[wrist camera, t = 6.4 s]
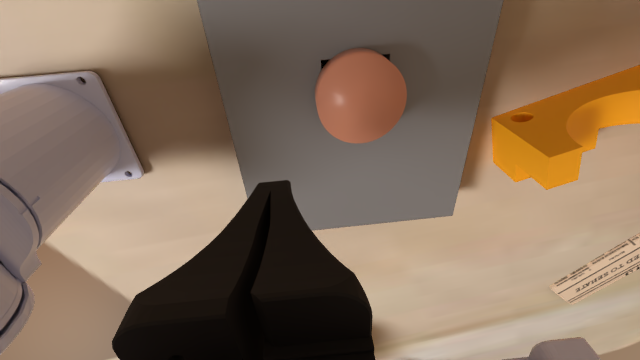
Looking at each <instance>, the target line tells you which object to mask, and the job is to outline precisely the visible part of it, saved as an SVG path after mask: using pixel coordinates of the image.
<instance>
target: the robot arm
mask: <svg viewBox="0 0 640 360" xmlns="http://www.w3.org/2000/svg"><path fill="white" fill-rule="evenodd" d="M80 77H82V78H84V79H85V81H86V83H83V82H82V81H81V80H80ZM127 171H129V172H131V173H132V174H129V173H128V172H127ZM143 175H144V170H143V168H142V166H141V164H140V162H139V160H138V157H137V155H136V153H135V151H134V149H133V147H132V145H131V143H130V140H129V138H128V136H127V134H126V132H125V130H124V128H123V126H122V123H121V121H120V119H119V117H118V115H117V113H116V111H115V108H114V106H113V104H112V102H111V100H110V98H109V96H108V94H107V91H106V89H105V87H104V85H103V83H102V81H101V79H100V77H99V76H98V75H97V74H96V73H95V72H93V71H80V72H69V73H58V74H46V75H35V76H24V77H12V78H1V79H0V355H1V354H2V353H3V352H4V351H5V350H6V348H7V347H8V346H9V345H10V344H11V343H12V342H13V340H14V339H15V338H16V337H17V335H18V334H19V333H20V332H21V330H22V329H23V327H24V326H25V324H26V322H27V321H28V319H29V317H30V315H31V313H32V311H33V307H34V302H35V299H34V293H33V291H32V289H31V287H30V286H29V285H28V284H27V283H25V282H26V281H27V280H28V279H29V278H30V276H31V275H32V274H33V273H34V272H35V271H36V270H37V269H38V267H39V266H40V265H41V264H42V263H41V261H40V260H39V259H38V257H37V253H36V250H37V249H38V248H39V247H40V246H41V245H42V244H43V243H44V241H45V240H46V239H47V238H48V237H49V236H50V235H51V234H52V233H53V232H54V231H55V230H56V229H57V228H58V227H59V226H60V225H61V223H62V222H63V221H64V220H65V219H66V218H67V217H68V216H69V215H70V214H71V213H72V212H73V211H74V210H75V209H76V208H77V207H78V205H79V204H80V203H81V202H82V201H83V200H84V199H85V198H86V197H87V196H88V195H89V194H90V193H91V192H92V191H93V190H94V189H95V187H96V186H97V185H98V184H99V183H100V182H109V181H119V180H129V179H139V178H141V177H142V176H143ZM371 332H372V310H371V306H370V304H369V301H368V298H367V296H366V294H365V292H364V290H363V288H362V286H361V284H360V282H359V281H358V279H357V277H356V275H355V274H354V273H353V272H352V271H350V270H349V269H348V268H347V267H345V266H344V265H343V264H342V263H341V262H340V261H338V260H337V259H336V258H335V257H334V256H333V255H332V254H331V253H330V252H329V251H328V250H327V249H326V248H325V246H324V245H323V244H322V243H321V242H320V241H319V240H318V238H317V237H316V236H315V235H314V233H313V232H312V231H311V229H310V228H309V226H308V225H307V223H306V222H305V220H304V218H303V216H302V215H301V213H300V211H299V209H298V207H297V205H296V203H295V200H294V198H293V195H292V189H291V182H290V181H288V180H282V181H271V182H261V183H258V185H257V186H256V187H255V189H254V190H253V192H252V193H251V195H250V196H249V198H248V199H247V201H246V202H245V204H244V205H243V206H242V208H241V209H240V210H239V212H238V213H237V214H236V216H235V217H234V218H233V219H232V220H231V221H230V223H229V224H228V225H227V226H226V227H225V229H224V230H223V231H222V232H221V233H220V234H219V235H218V236H217V237H216V238H215V239H214V240H213V241H212V242H211V243H210V244H209V245H207V246H206V247H205V248H204V249H203V250H201V251H200V252H199V253H198V254H197V255H196V256H194V257H193V258H192V259H191V260H189V261H188V262H187V263H185V264H184V265H183V266H181V267H180V268H178V269H177V270H176V271H174V272H173V273H171V274H170V275H168V276H167V277H165V278H164V279H162V280H161V281H159V282H157V283H156V284H154V285H152V286H151V287H149V288H147V289H146V290H144V291H142V292H141V293H139V294H137V295H136V296H135V298H134V299H133V301H132V303H131V305H130V306H129V308H128V310H127V312H126V314H125V316H124V318H123V320H122V322H121V324H120V326H119V328H118V330H117V332H116V334H115V337H114V338H113V341H112V347H113V350H114V352H115V353H116V355H117V356H118V358H119V359H120V360H375V356H374V344H373V340H372V335H371ZM504 360H601V359H600V358H599V356H598V355H597V354H596V353H595V351H594V350H593V349H592V348H591V346H590V345H589V344H588V343H587V341H586V340H585V339H584V338H581V337H577V338H568V339H558V340H549V341H544V342H541V343H539V344H537V345H535V346H534V347H533V348H532V350H531V352H530V355H529V357H522V358H513V359H504Z"/></svg>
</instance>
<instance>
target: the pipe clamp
mask: <svg viewBox="0 0 640 360" xmlns="http://www.w3.org/2000/svg"><path fill="white" fill-rule="evenodd" d="M491 121H492V144H493V162H494V163H495V164H496V165H497V166H498V167H499V168H500V169H501V170H502V171H504V172H505V173H506V174H507V175H508V176H509V177H510V178H511V179H512V180H514V181H515V182H518V181H521V180H524V179H527V178H530V177H532V178H533V179H534V180H535V181H537V182H538V183H539V184H540V185H541V186H543V187H544V188H545V189H546V190H548V189H551V188H554V187H557V186H560V185H563V184H566V183H569V182H573V181H576V180H578V176H579V169H580V163H581V157H582V153H583V152H585V151H588V150H591V149H595V146H596V141H597V135H598V130H599V129H600V128H604V127H609V126H615V125H622V124H635V123H640V65H638V66H635V67H632V68H630V69H627V70H624V71H621V72H618V73H616V74H613V75H610V76H607V77H604V78H602V79H599V80H596V81H593V82H590V83H588V84H585V85H582V86H579V87H576V88H574V89H571V90H568V91H565V92H562V93H560V94H557V95H554V96H551V97H548V98H546V99H543V100H540V101H537V102H534V103H532V104H529V105H526V106H523V107H520V108H518V109H515V110H512V111H509V112H506V113H504V114H501V115H498V116H495V117H493V118H491Z"/></svg>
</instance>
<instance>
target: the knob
mask: <svg viewBox="0 0 640 360" xmlns="http://www.w3.org/2000/svg"><path fill="white" fill-rule="evenodd" d="M406 100H407V89H406V84H405V81H404V78H403V76H402V74H401V72H400V71H399V70H398V68H397V67H396V66H395V65H394V64H392V63H391V62H390V61H389V60H388V59H386V58H385V57H384V56H383V55H381V54H380V53H378V52H376V51H374V50H371V49H366V48H353V49H349V50H345V51H343V52H341V53H339V54H337V55H336V56H334V57H333V58H332V59H330V60H329V61H328V62H327V63H326V64H325V66H324V67H323V69H322V70H321V72H320V74H319V76H318V78H317V81H316V85H315V101H316V106H317V111H318V115H319V118H320V121H321V123H322V124H323V126H324V128H325V129H326V130H327V131H328V132H329V133H330V134H331V135H332V136H334V137H335V138H337V139H339V140H341V141H344V142H348V143H356V144H357V143H367V142H370V141H374V140H376V139H378V138H380V137H382V136H384V135H385V134H386V133H388V132H389V131H390V130H391V129H392V128H393V127H394V126H395V125H396V124H397V122H398V121H399V119H400V118H401V116H402V114H403V111H404V109H405V105H406Z"/></svg>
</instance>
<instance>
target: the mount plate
mask: <svg viewBox="0 0 640 360" xmlns="http://www.w3.org/2000/svg"><path fill="white" fill-rule="evenodd" d="M197 3H198V7H199V11H200V15H201V18H202V22H203V26H204V30H205V34H206V38H207V42H208V46H209V50H210V54H211V58H212V61H213V65H214V69H215V73H216V77H217V81H218V85H219V89H220V93H221V97H222V100H223V104H224V108H225V112H226V116H227V120H228V124H229V128H230V132H231V136H232V140H233V143H234V147H235V151H236V155H237V159H238V163H239V167H240V171H241V175H242V179H243V183H244V186H245V190H246V194H247V198H249V196H250V195H251V193H252V192H253V190H254V189H255V187H256V186H257V185H258V183H261V182H271V181H282V180H288V181H290V182H291V189H292V195H293V198H294V200H295V203H296V205H297V207H298V209H299V211H300V213H301V215H302V216H303V218H304V220H305V222H306V223H307V225H308V226H309V228H310V229H311V231H312V230H321V229H331V228H340V227H350V226H359V225H369V224H378V223H388V222H397V221H407V220H416V219H426V218H435V217H445V216H452V215H453V211H454V207H455V203H456V198H457V194H458V190H459V186H460V181H461V177H462V173H463V169H464V165H465V160H466V156H467V152H468V148H469V143H470V139H471V135H472V131H473V127H474V122H475V118H476V114H477V110H478V106H479V101H480V97H481V93H482V89H483V84H484V80H485V76H486V72H487V68H488V63H489V59H490V55H491V51H492V46H493V42H494V38H495V34H496V30H497V25H498V21H499V17H500V13H501V8H502V4H503V0H197ZM353 48H366V49H371V50H374V51H376V52H378V53H380V54H381V55H383V56H384V57H385V58H386V59H388V60H389V61H390V62H391V63H392V64H394V65H395V66H396V67H397V68H398V70H399V71H400V72H401V74H402V76H403V78H404V81H405V84H406V89H407V100H406V105H405V109H404V111H403V114H402V116H401V118H400V119H399V121H398V122H397V124H396V125H395V126H394V127H393V128H392V129H391V130H390V131H389V132H388V133H386V134H385V135H384V136H382V137H380V138H378V139H376V140H374V141H370V142H367V143H357V144H356V143H348V142H344V141H341V140H339V139H337V138H335V137H334V136H332V135H331V134H330V133H329V132H328V131H327V130H326V129H325V128H324V126H323V124H322V123H321V121H320V118H319V115H318V111H317V106H316V101H315V85H316V81H317V78H318V76H319V74H320V72H321V60H326V59H332V58H333V57H334V56H336V55H337V54H339V53H341V52H343V51H345V50H349V49H353Z"/></svg>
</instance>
